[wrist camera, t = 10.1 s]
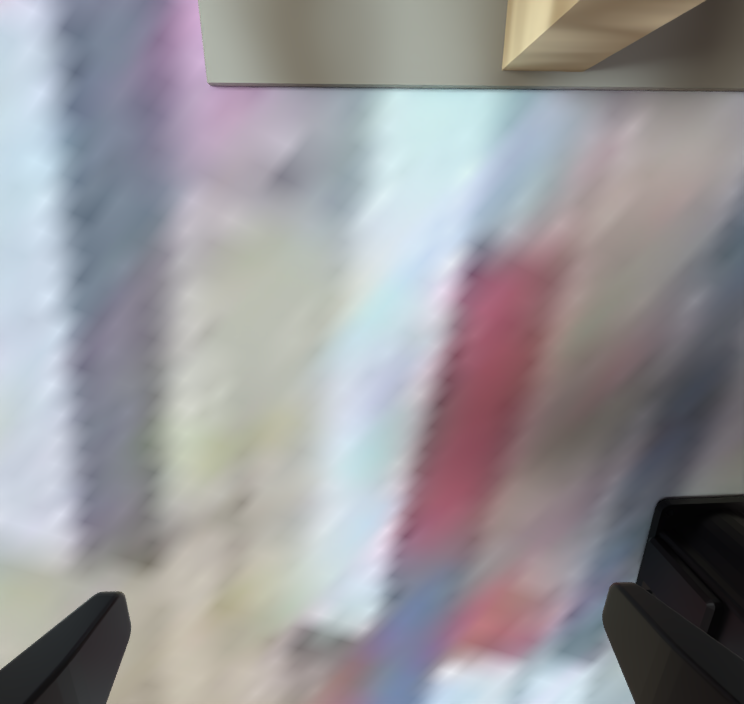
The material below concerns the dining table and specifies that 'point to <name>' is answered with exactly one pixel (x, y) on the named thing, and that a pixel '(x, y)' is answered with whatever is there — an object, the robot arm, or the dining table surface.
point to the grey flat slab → (449, 47)
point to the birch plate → (579, 30)
